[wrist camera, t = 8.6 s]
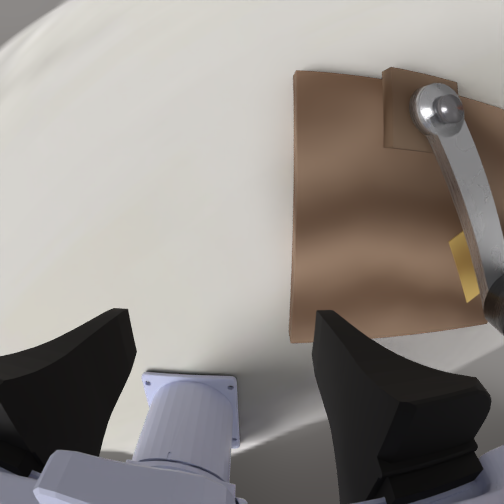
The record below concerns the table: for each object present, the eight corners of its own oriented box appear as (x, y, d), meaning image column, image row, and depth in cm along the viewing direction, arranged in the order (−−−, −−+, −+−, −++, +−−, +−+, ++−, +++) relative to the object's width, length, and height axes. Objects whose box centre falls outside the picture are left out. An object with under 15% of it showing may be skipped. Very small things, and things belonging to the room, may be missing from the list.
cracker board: (478, 316, 24) (496, 331, 21) (288, 332, 24) (293, 355, 21) (503, 108, 18) (526, 107, 15) (293, 68, 18) (299, 56, 15)
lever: (395, 100, 15) (449, 85, 10) (440, 77, 15) (499, 60, 9) (477, 324, 20) (519, 363, 14) (511, 296, 19) (555, 328, 14)
